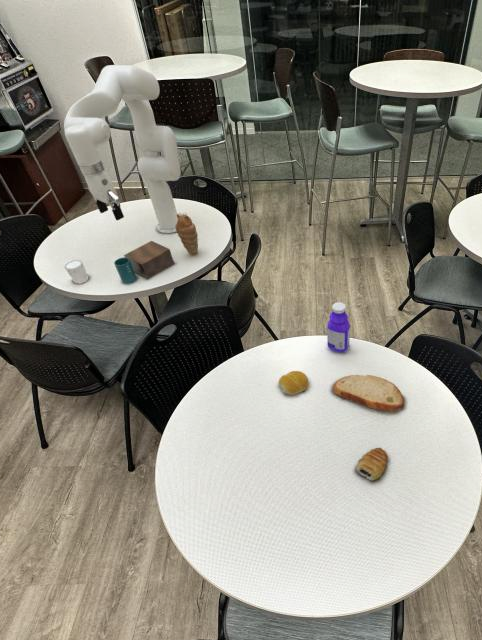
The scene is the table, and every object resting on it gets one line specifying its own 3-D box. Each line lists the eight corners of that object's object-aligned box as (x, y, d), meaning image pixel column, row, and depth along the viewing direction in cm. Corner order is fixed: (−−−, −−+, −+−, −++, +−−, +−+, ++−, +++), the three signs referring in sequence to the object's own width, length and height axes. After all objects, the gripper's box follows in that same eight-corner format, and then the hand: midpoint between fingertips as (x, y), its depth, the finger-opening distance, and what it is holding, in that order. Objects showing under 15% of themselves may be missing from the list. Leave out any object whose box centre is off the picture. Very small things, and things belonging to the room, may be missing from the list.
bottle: (351, 345, 142) (353, 303, 129) (345, 355, 139) (346, 314, 126) (332, 339, 145) (331, 297, 132) (325, 350, 141) (324, 308, 128)
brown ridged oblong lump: (180, 256, 183) (167, 217, 170) (190, 247, 188) (179, 208, 175) (197, 260, 181) (186, 220, 167) (207, 251, 186) (197, 211, 172)
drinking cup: (123, 255, 169) (111, 262, 166) (132, 260, 166) (120, 267, 163) (131, 274, 175) (119, 280, 172) (140, 278, 173) (128, 285, 170)
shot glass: (84, 285, 171) (76, 270, 166) (69, 283, 172) (60, 268, 167) (93, 275, 175) (85, 260, 170) (78, 274, 177) (70, 259, 171)
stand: (156, 255, 185) (151, 240, 180) (174, 263, 180) (169, 249, 174) (129, 270, 177) (123, 255, 172) (147, 279, 172) (141, 264, 167)
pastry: (371, 446, 115) (372, 438, 112) (393, 458, 112) (395, 450, 109) (353, 471, 110) (353, 464, 107) (375, 485, 107) (377, 477, 104)
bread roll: (313, 387, 130) (312, 378, 127) (288, 399, 127) (287, 390, 124) (299, 371, 135) (298, 362, 132) (274, 382, 132) (273, 374, 129)
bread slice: (328, 385, 131) (328, 377, 128) (380, 367, 135) (380, 359, 132) (354, 428, 119) (355, 420, 117) (409, 407, 124) (411, 399, 121)
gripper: (116, 169, 142) (134, 217, 155) (87, 158, 149) (107, 204, 162) (97, 177, 139) (117, 226, 152) (68, 165, 146) (90, 213, 159)
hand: (112, 215), depth 157 cm, fingers open, 9 cm apart
